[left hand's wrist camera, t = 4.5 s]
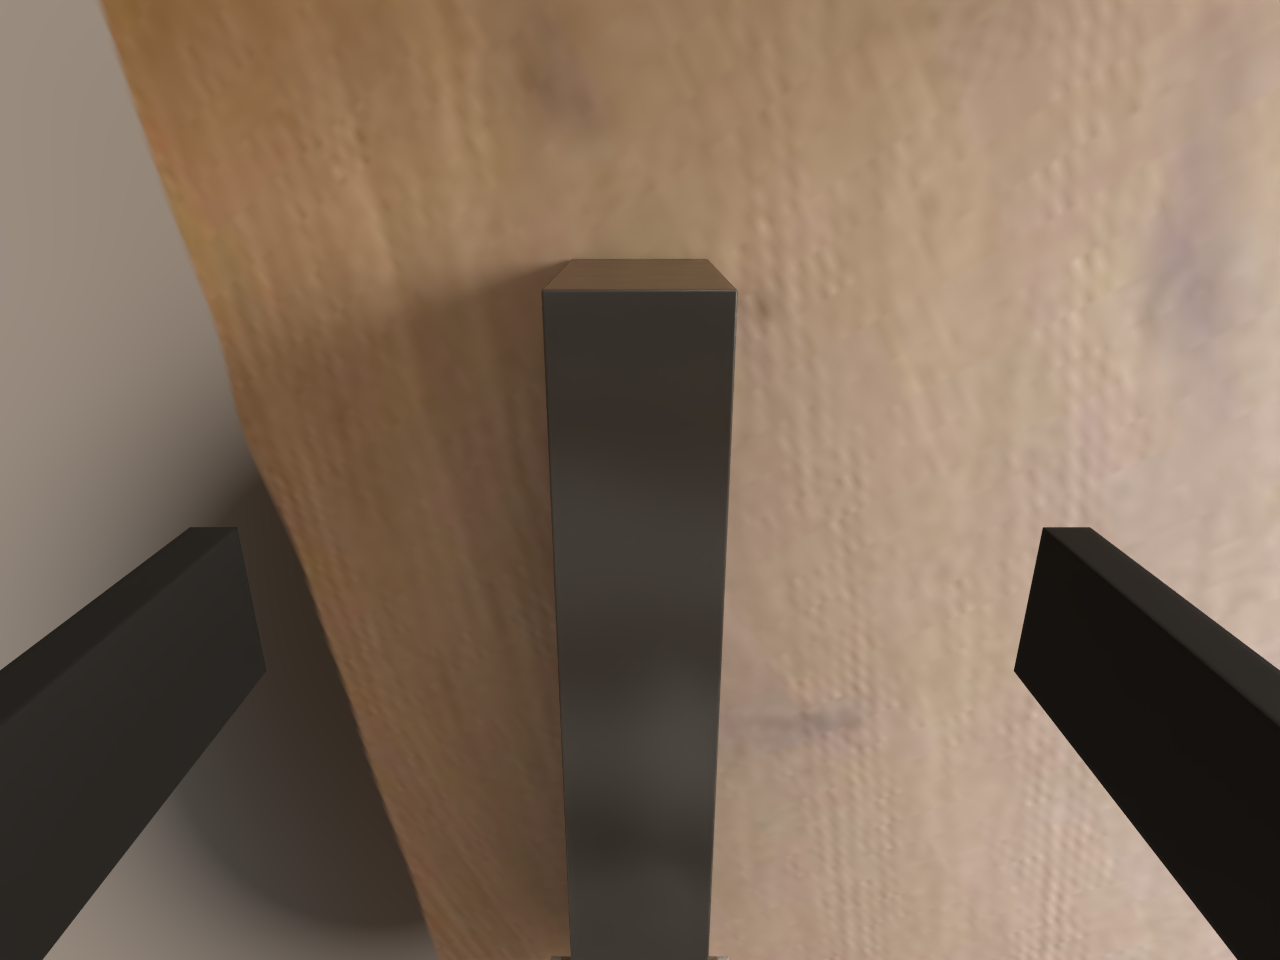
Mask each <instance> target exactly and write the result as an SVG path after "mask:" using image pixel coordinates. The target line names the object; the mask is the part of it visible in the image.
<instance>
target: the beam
mask: <svg viewBox="0 0 1280 960" xmlns="http://www.w3.org/2000/svg"><path fill="white" fill-rule="evenodd" d="M737 299H738V292H737V290H736V289H735V288H734V286H733V285H732V284H731V283H730V282H729V281H728V280H727V279H726V278H725V277H724V276H723V275H722V274H721V273H720V272H719V271H718V270H717V268H716V267H715V266H714V265H713V264H712V263H711V262H710V261H709V260H708V259H572V260H571V261H570V262H569V263H568V264H567V265H566V266H565V267H564V268H563V269H562V270H561V271H560V272H559V273H558V274H557V276H556V277H555V278H554V279H553V280H552V281H551V282H550V283H549V284H548V285H547V286H546V287H545V288H544V289H543V290H542V312H543V335H544V358H545V380H546V403H547V425H548V448H549V470H550V493H551V515H552V538H553V560H554V583H555V606H556V628H557V651H558V673H559V696H560V718H561V741H562V763H563V786H564V809H565V831H566V854H567V876H568V899H569V921H570V944H571V960H708V956H709V933H710V910H711V888H712V865H713V842H714V820H715V797H716V774H717V752H718V729H719V706H720V684H721V661H722V638H723V616H724V593H725V570H726V548H727V525H728V503H729V480H730V457H731V435H732V412H733V389H734V367H735V344H736V321H737Z"/></svg>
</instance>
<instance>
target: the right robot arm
mask: <svg viewBox="0 0 1280 960" xmlns="http://www.w3.org/2000/svg"><path fill="white" fill-rule="evenodd" d="M551 960H571V957H564V956H563V957H562V956H551ZM708 960H729V959H728V957H717V956H708Z"/></svg>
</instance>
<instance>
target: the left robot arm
mask: <svg viewBox="0 0 1280 960" xmlns="http://www.w3.org/2000/svg"><path fill="white" fill-rule="evenodd" d="M265 672H266V668H265V663H264V658H263V653H262V648H261V643H260V638H259V634H258V629H257V624H256V619H255V614H254V609H253V604H252V599H251V594H250V589H249V584H248V579H247V574H246V569H245V565H244V560H243V555H242V550H241V545H240V540H239V535H238V530H237V528H236V527H230V528H229V527H201V528H200V527H198V528H197V527H190V528H189V529H187V530H186V531H185V532H183V533H182V534H181V535H179V536H178V537H177V538H175V539H174V540H173V541H171V542H170V543H169V544H167V545H166V546H165V547H163V548H162V549H161V550H159V551H158V552H157V553H155V554H154V555H153V556H151V557H150V558H149V559H147V560H146V561H145V562H143V563H142V564H141V565H140V566H138V567H137V568H136V569H134V570H133V571H132V572H130V573H129V574H128V575H126V576H125V577H124V578H122V579H121V580H120V581H118V582H117V583H116V584H114V585H113V586H112V587H110V588H109V589H108V590H106V591H105V592H104V593H102V594H101V595H100V596H98V597H97V598H96V599H94V600H93V601H92V602H90V603H89V604H88V605H87V606H85V607H84V608H83V609H81V610H80V611H79V612H77V613H76V614H75V615H73V616H72V617H71V618H69V619H68V620H67V621H65V622H64V623H63V624H61V625H60V626H59V627H57V628H56V629H55V630H53V631H52V632H51V633H49V634H48V635H47V636H45V637H44V638H43V639H41V640H40V641H39V642H37V643H36V644H35V645H33V646H32V647H31V648H29V649H28V650H27V651H26V652H24V653H23V654H21V655H20V656H19V657H18V658H16V659H15V660H14V661H12V662H11V663H10V664H8V665H7V666H6V667H4V668H3V669H2V670H0V960H43V958H44V957H45V956H46V955H47V953H48V952H49V951H50V949H51V948H52V947H53V945H54V944H55V943H56V942H57V940H58V939H59V938H60V936H61V935H62V934H63V933H64V931H65V930H66V929H67V927H68V926H69V925H70V924H71V922H72V921H73V920H74V918H75V917H76V916H77V914H78V913H79V912H80V911H81V909H82V908H83V907H84V905H85V904H86V903H87V902H88V900H89V899H90V898H91V896H92V895H93V894H94V893H95V891H96V890H97V889H98V887H99V886H100V885H101V883H102V882H103V881H104V880H105V878H106V877H107V876H108V874H109V873H110V872H111V871H112V869H113V868H114V867H115V865H116V864H117V863H118V861H119V860H120V859H121V858H122V856H123V855H124V854H125V852H126V851H127V850H128V849H129V847H130V846H131V845H132V843H133V842H134V841H135V840H136V838H137V837H138V836H139V834H140V833H141V832H142V831H143V829H144V828H145V827H146V825H147V824H148V823H149V821H150V820H151V819H152V818H153V816H154V815H155V814H156V812H157V811H158V810H159V809H160V807H161V806H162V805H163V803H164V802H165V801H166V799H167V798H168V797H169V796H170V794H171V793H172V792H173V790H174V789H175V788H176V787H177V785H178V784H179V783H180V781H181V780H182V779H183V778H184V776H185V775H186V774H187V772H188V771H189V770H190V768H191V767H192V766H193V765H194V763H195V762H196V761H197V760H198V758H199V757H200V756H201V754H202V753H203V752H204V750H205V749H206V748H207V747H208V745H209V744H210V743H211V741H212V740H213V739H214V738H215V736H216V735H217V734H218V732H219V731H220V730H221V729H222V727H223V726H224V725H225V723H226V722H227V721H228V719H229V718H230V717H231V716H232V714H233V713H234V712H235V710H236V709H237V708H238V707H239V705H240V704H241V703H242V701H243V700H244V699H245V698H246V696H247V695H248V694H249V692H250V691H251V690H252V688H253V687H254V686H255V684H256V683H257V682H258V681H259V679H260V678H261V677H262V676H263V674H264V673H265ZM1014 672H1015V673H1016V674H1017V676H1018V677H1019V678H1020V679H1021V681H1022V682H1023V683H1024V685H1025V686H1026V687H1027V688H1028V690H1029V691H1030V692H1031V694H1032V695H1033V696H1034V698H1035V699H1036V700H1037V701H1038V703H1039V704H1040V705H1041V707H1042V708H1043V709H1044V710H1045V712H1046V713H1047V714H1048V716H1049V717H1050V718H1051V719H1052V721H1053V722H1054V723H1055V725H1056V726H1057V727H1058V729H1059V730H1060V731H1061V732H1062V734H1063V735H1064V736H1065V738H1066V739H1067V740H1068V741H1069V743H1070V744H1071V745H1072V747H1073V748H1074V749H1075V750H1076V752H1077V753H1078V754H1079V756H1080V757H1081V758H1082V760H1083V761H1084V762H1085V763H1086V765H1087V766H1088V767H1089V769H1090V770H1091V771H1092V772H1093V774H1094V775H1095V776H1096V778H1097V779H1098V780H1099V781H1100V783H1101V784H1102V785H1103V787H1104V788H1105V789H1106V791H1107V792H1108V793H1109V794H1110V796H1111V797H1112V798H1113V800H1114V801H1115V802H1116V803H1117V805H1118V806H1119V807H1120V809H1121V810H1122V811H1123V812H1124V814H1125V815H1126V816H1127V818H1128V819H1129V820H1130V822H1131V823H1132V824H1133V825H1134V827H1135V828H1136V829H1137V831H1138V832H1139V833H1140V834H1141V836H1142V837H1143V838H1144V840H1145V841H1146V842H1147V843H1148V845H1149V846H1150V847H1151V849H1152V850H1153V851H1154V853H1155V854H1156V855H1157V856H1158V858H1159V859H1160V860H1161V862H1162V863H1163V864H1164V865H1165V867H1166V868H1167V869H1168V871H1169V872H1170V873H1171V874H1172V876H1173V877H1174V878H1175V880H1176V881H1177V882H1178V883H1179V885H1180V886H1181V887H1182V889H1183V890H1184V891H1185V893H1186V894H1187V895H1188V896H1189V898H1190V899H1191V900H1192V902H1193V903H1194V904H1195V905H1196V907H1197V908H1198V909H1199V911H1200V912H1201V913H1202V914H1203V916H1204V917H1205V918H1206V920H1207V921H1208V922H1209V924H1210V925H1211V926H1212V927H1213V929H1214V930H1215V931H1216V933H1217V934H1218V935H1219V936H1220V938H1221V939H1222V940H1223V942H1224V943H1225V944H1226V945H1227V947H1228V948H1229V949H1230V951H1231V952H1232V953H1233V955H1234V956H1235V957H1236V958H1237V960H1280V670H1278V669H1277V668H1276V667H1274V666H1273V665H1272V664H1270V663H1269V662H1268V661H1266V660H1265V659H1264V658H1263V657H1261V656H1260V655H1259V654H1257V653H1256V652H1255V651H1253V650H1252V649H1251V648H1249V647H1248V646H1247V645H1245V644H1244V643H1243V642H1241V641H1240V640H1239V639H1237V638H1236V637H1235V636H1233V635H1232V634H1231V633H1229V632H1228V631H1227V630H1225V629H1224V628H1223V627H1221V626H1220V625H1219V624H1217V623H1216V622H1215V621H1213V620H1212V619H1211V618H1209V617H1208V616H1207V615H1205V614H1204V613H1203V612H1202V611H1200V610H1199V609H1198V608H1196V607H1195V606H1194V605H1192V604H1191V603H1190V602H1188V601H1187V600H1186V599H1184V598H1183V597H1182V596H1180V595H1179V594H1178V593H1176V592H1175V591H1174V590H1172V589H1171V588H1170V587H1168V586H1167V585H1166V584H1164V583H1163V582H1162V581H1160V580H1159V579H1158V578H1156V577H1155V576H1154V575H1152V574H1151V573H1150V572H1148V571H1147V570H1146V569H1144V568H1143V567H1142V566H1141V565H1139V564H1138V563H1137V562H1135V561H1134V560H1133V559H1131V558H1130V557H1129V556H1127V555H1126V554H1125V553H1123V552H1122V551H1121V550H1119V549H1118V548H1117V547H1115V546H1114V545H1113V544H1111V543H1110V542H1109V541H1107V540H1106V539H1105V538H1103V537H1102V536H1101V535H1099V534H1098V533H1097V532H1095V531H1094V530H1093V529H1091V528H1090V527H1043V530H1042V535H1041V540H1040V545H1039V550H1038V555H1037V560H1036V565H1035V569H1034V574H1033V579H1032V584H1031V589H1030V594H1029V599H1028V604H1027V609H1026V614H1025V619H1024V624H1023V628H1022V633H1021V638H1020V643H1019V648H1018V653H1017V658H1016V663H1015V668H1014Z"/></svg>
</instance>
